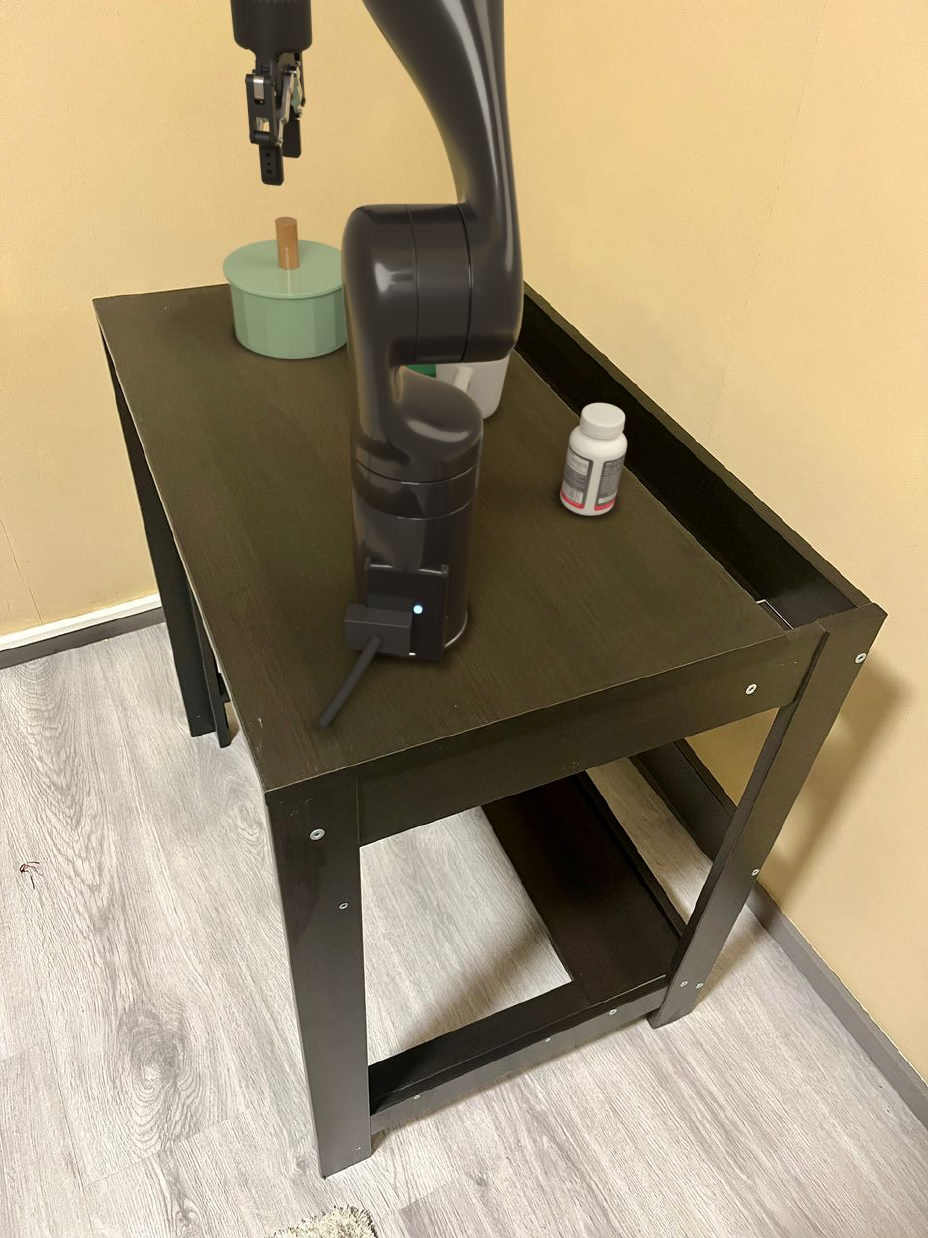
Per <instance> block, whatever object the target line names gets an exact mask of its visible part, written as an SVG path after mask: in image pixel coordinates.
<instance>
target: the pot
mask: <svg viewBox="0 0 928 1238" xmlns="http://www.w3.org/2000/svg"><path fill="white" fill-rule="evenodd" d="M227 282H228V290H229V297H230V307H231V315H232V322H233V328H234V332H235V337H236V338H237V340H238V342H239V343H240V344H241V345H242V346H243V347H244V348H246V349H247V350H250V351H252V352H254V353H256V354H259V355H262V356H265V357H270V358H275V359H282V360H283V359H284V360H285V359H286V360H300V359H301V360H302V359H311V358H316V357H320V356H324V355H328V354H330V353H332V352H333V353H334V352H335V351H336V350H339V349H340V348H341V347H343V346H344V345H345V344H347V338H346V327H345V316H344V306H343V295H342V288H340V289H338V290H336V291H334V292H331V293H328V294H324V295H320V296H315V297H309V298H298V299H281V298H271V297H264V296H259V295H255V294H251V293H248V292H246V291H243V290H241V289H239V288H237V287H235V286H234V285H232V284H231V283H230V282H229V281H228V280H227Z"/></svg>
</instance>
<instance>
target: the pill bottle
mask: <svg viewBox="0 0 928 1238" xmlns="http://www.w3.org/2000/svg"><path fill="white" fill-rule="evenodd" d="M625 422H626V415H625V413H624V411H623V410H622V409H621V408H620V407H617V406H616V405H614V404H610V403H605V402H594V403H590V404H587V405H585V406H584V407H583V409H582V410H581V414H580V419H579V425H577V426H576V427H575V428H574V429H573V430H572V431H571V433H570V436H569V439H568V445H567V450H566V456H565V463H564V468H563V474H562V480H561V486H560V493H559V496H560V497H559V498H560V501H561V503H562V504H563V506H564V507H565V508H567V509H568V510H570V511H571V512H573V513H576V514H578V515H581V516H587V517H588V516H590V517H593V516H600V515H603V514H605V513H607V512H609V511H610V510H611V509H612V508H613V507H614V505H615V502H616V498H617V494H618V488H619V484H620V479H621V476H622V472H623V471H622V470H623V466H624V462H625V458H626V453H627V448H628V440H627V438H626V436H625V434H624V433H623V431H624V430H625Z"/></svg>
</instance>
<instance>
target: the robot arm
mask: <svg viewBox="0 0 928 1238" xmlns="http://www.w3.org/2000/svg"><path fill="white" fill-rule="evenodd" d="M361 1H362V4H363V5H364V8H365V9H366V11H367V12H368V14H369V16H370V17H371V19H372V21H373V22H374V24H375V26H376V28H377V29H378V31H379V33H381V35H382V37H383V38H384V40H385V42H386V43H387V45H388V46H389V48H390V49H391V51H392V52H393V54H394V55H395V57H396V58H397V60H398V61H399V64H401V66H402V67H403V69H404V70H405V72H406V73H407V75H408V76H409V78H410V79H411V81H412V83H413V85H414V86H415V88H416V90H417V91H418V93H419V94H420V96H421V98H422V100H423V102H424V104H425V106H426V108H427V109H428V111H429V114H430V116H431V118H432V120H433V122H434V124H435V127H436V129H437V132H438V134H439V136H440V139H441V141H442V144H443V148H444V150H445V153H446V157H447V160H448V165H449V168H450V171H451V175H452V179H453V183H454V184H453V185H454V189H455V196H456V203H452V202H451V203H446V202H445V203H435V202H433V203H374V204H373V203H372V204H364V205H360V206H358V207H355V209H353V210H352V211H351V213H350V214H349V216H348V218H347V220H346V223H345V225H344V227H343V232H342V237H341V245H340V246H341V247H340V250H341V279H342V295H343V306H344V316H345V327H346V338H347V342H346V349H347V362H348V387H349V389H348V391H349V446H350V447H349V449H350V451H349V452H350V453H349V454H350V495H351V496H350V497H351V499H350V501H351V502H350V503H351V532H352V533H351V535H352V536H351V538H352V573H353V574H352V575H353V576H352V577H353V579H352V580H353V602H348V603H347V607H346V610H345V615H344V619H343V626H344V627H343V628H344V629H343V631H344V649H345V650H354V651H361V653H359V656H358V657H357V659H356V661H355V663H354V665H352V667H351V669H350V670H349V673H348V674H347V676H346V678H345V679H344V681H343V682H342V684H341V686H340V687H339V688H338V689H337V691H336V692H335V694H334V696H333V697H332V699H331V700H330V701H329V703H328V704H327V706H326V707H325V708H324V710H323V711H322V713H321V714H320V715H319V716H318V718H317V720H316V722H317V723H318V724H320V726H322V727H324V728H326V729H327V728H328V727H329V726H330V725H331V723H332V722H333V720H334V719H335V718H336V716H337V715H338V714H339V712H340V711H341V709H342V708H343V706H344V705H345V703H346V702H347V700H349V697H350V696H351V694H352V693H353V691H354V690H355V689H356V687H357V685H358V684H359V682H360V680H361V678H362V677H363V675H364V674H365V672H366V670H367V669H368V667H369V665H370V663H371V662H372V660H373V659H374V656H376V657H387V658H394V659H400V660H415V661H423V662H433V663H441V662H442V661H443V660H444V659H443V657H444V654H445V652H447V651H448V650H450V649H451V648H453V647H454V646H455V645H456V644H457V643H458V642H459V641H460V640H461V639H462V637H463V636H464V634H465V631H466V629H467V624H468V602H469V601H468V600H469V590H470V578H471V570H472V569H471V568H472V558H473V547H474V537H475V536H474V535H475V527H476V516H477V506H478V505H477V504H478V496H479V487H480V475H481V468H482V467H481V465H482V456H483V445H484V435H485V420H484V419H483V416H482V412H481V410H480V408H479V406H478V405H477V403H476V402H475V401H474V400H473V399H472V398H471V397H470V396H469V395H468V394H467V393H466V392H464V391H463V390H461V389H459V388H458V387H456V386H454V385H452V384H450V383H448V382H445V381H443V380H440V379H437V378H433V377H430V376H427V375H424V374H422V373H419V372H417V371H414V370H412V369H410V368H408V367H407V366H409V365H435V364H456V363H459V364H460V363H479V362H492V361H498V360H502V359H504V358H506V357H507V356H508V355H509V354H510V355H511V353H512V352H513V350H514V349H515V347H516V345H517V342H518V339H519V336H520V332H521V328H522V323H523V322H522V321H523V313H524V294H525V293H524V291H525V289H524V287H525V286H524V285H525V284H524V263H523V251H522V240H521V239H522V238H521V226H520V225H521V224H520V216H519V215H520V214H519V207H518V206H519V205H518V196H517V186H516V176H515V175H516V174H515V165H514V156H513V155H514V154H513V145H512V135H511V134H512V133H511V124H510V123H511V122H510V113H509V102H508V87H507V69H506V68H507V66H506V39H505V38H506V36H505V32H506V31H505V0H361ZM229 2H230V3H229V4H230V12H231V14H230V15H231V24H232V33H233V35H232V36H233V40H234V43H236V45H237V46H239V48H242V49H244V50H249V51H250V52H252V53H253V54H254V57H255V60H254V68H252V70H251V73H246V74H245V77H244V83H245V92H246V93H245V94H246V106H247V107H246V108H247V117H248V118H247V119H248V120H247V121H248V132H249V134H248V137H249V142H250V144H251V145H256V146H258V155H259V156H258V157H259V167H260V178H261V179H260V180H261V182H262V183H263V184H264V185H267V186H275V187H276V186H277V187H280V186H282V185H283V183H284V182H285V171H284V158H289V159H290V158H291V159H299V158H300V156H301V155H302V135H301V120H300V119H302V117H303V116H302V115H303V108H304V107H305V105H306V103H307V101H306V94H305V93H306V92H305V82H304V81H305V78H304V76H305V75H304V63H303V62H304V61H303V52H304V51H306V50H308V49H309V48H311V46H312V44H313V21H312V17H313V16H312V0H229ZM266 123H268V130H264V126H265V124H266Z"/></svg>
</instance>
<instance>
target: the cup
mask: <svg viewBox="0 0 928 1238" xmlns="http://www.w3.org/2000/svg"><path fill="white" fill-rule="evenodd" d="M510 357H511V353H510V354H509V355H508V356H507V357H506V358H504V359H502V360H498V361H492V362H479V363H460V364H459V363H456V364H436V378H437V379H440V380H443V381H445V382H448V383H450V384H452V385H454V386H456V387H458V388H459V389H461V390H463V391H464V392H466V393H467V394H468V395H469V396H470V397H471V398H472V399H473V400H474V401H475V402H476V403H477V405H478V406H479V408H480V410H481V412H482V416H483V420H484V419H487V418H489V417H490V416H492V415H493V414H494V413H495V412H496V411H497V409H498V406H499V404H500V401H501V396H502V392H503V388H504V384H505V379H506V375H507V374H506V373H507V370H508V365H509V360H510Z"/></svg>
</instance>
